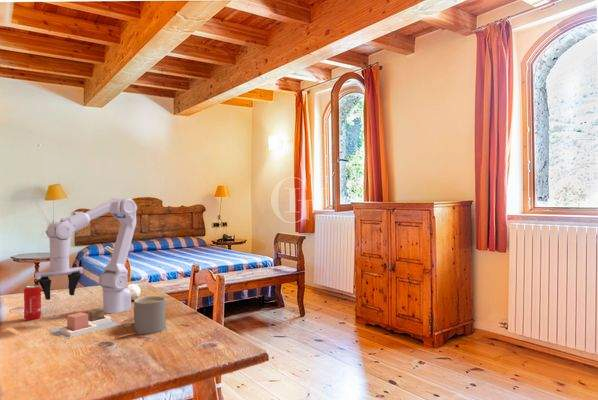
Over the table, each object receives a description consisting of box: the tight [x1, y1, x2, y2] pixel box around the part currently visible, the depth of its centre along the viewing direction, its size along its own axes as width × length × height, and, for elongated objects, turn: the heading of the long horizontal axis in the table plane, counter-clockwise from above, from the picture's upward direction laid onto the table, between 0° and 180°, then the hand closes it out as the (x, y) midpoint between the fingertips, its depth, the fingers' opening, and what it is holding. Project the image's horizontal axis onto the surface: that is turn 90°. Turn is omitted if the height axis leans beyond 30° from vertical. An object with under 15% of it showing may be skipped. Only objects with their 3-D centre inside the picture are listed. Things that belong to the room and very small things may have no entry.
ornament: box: [125, 281, 142, 302], centre depth 179 cm, size 7×7×8 cm
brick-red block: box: [66, 311, 89, 331], centre depth 136 cm, size 4×4×5 cm
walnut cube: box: [86, 307, 105, 322], centre depth 145 cm, size 4×4×4 cm
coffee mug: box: [133, 295, 167, 335], centre depth 141 cm, size 13×10×10 cm
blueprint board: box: [47, 314, 122, 339], centre depth 139 cm, size 18×14×2 cm
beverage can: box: [23, 284, 42, 322], centre depth 152 cm, size 5×5×12 cm
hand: (59, 297), depth 142 cm, fingers open, 7 cm apart
